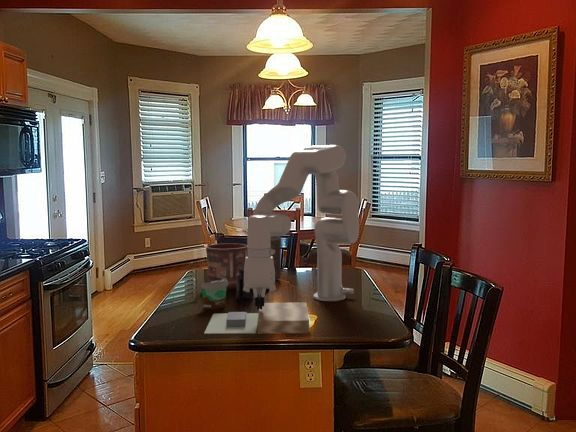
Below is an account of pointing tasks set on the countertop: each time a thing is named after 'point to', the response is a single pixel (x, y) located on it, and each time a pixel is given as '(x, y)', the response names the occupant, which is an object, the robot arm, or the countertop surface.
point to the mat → (219, 327)
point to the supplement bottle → (240, 285)
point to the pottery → (226, 262)
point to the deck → (283, 318)
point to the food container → (214, 293)
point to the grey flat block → (236, 319)
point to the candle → (276, 255)
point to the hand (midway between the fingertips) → (259, 308)
